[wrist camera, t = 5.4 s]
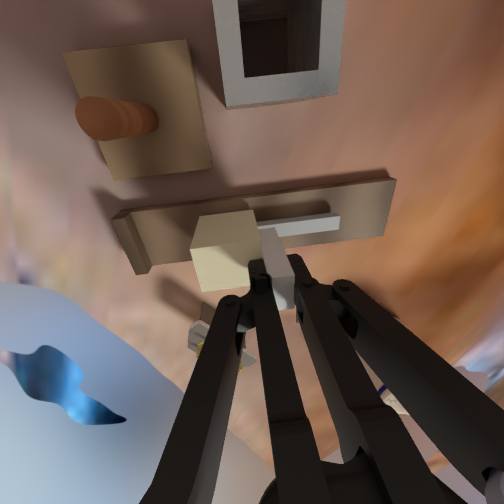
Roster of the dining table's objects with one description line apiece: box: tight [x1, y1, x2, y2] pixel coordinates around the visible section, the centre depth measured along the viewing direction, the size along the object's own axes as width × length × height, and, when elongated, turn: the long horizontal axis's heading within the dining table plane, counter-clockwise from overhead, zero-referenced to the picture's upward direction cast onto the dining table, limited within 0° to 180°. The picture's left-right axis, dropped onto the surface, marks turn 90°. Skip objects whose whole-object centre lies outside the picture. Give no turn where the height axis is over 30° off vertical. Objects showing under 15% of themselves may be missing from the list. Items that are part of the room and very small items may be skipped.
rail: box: [110, 177, 397, 275], centre depth 22 cm, size 26×6×2 cm, turn 95°
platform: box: [188, 302, 256, 373], centre depth 28 cm, size 12×18×7 cm, turn 40°
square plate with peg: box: [60, 39, 212, 180], centre depth 14 cm, size 8×8×8 cm
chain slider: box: [190, 210, 340, 292], centre depth 19 cm, size 13×4×6 cm, turn 95°
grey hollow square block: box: [212, 0, 346, 110], centre depth 13 cm, size 6×6×7 cm
